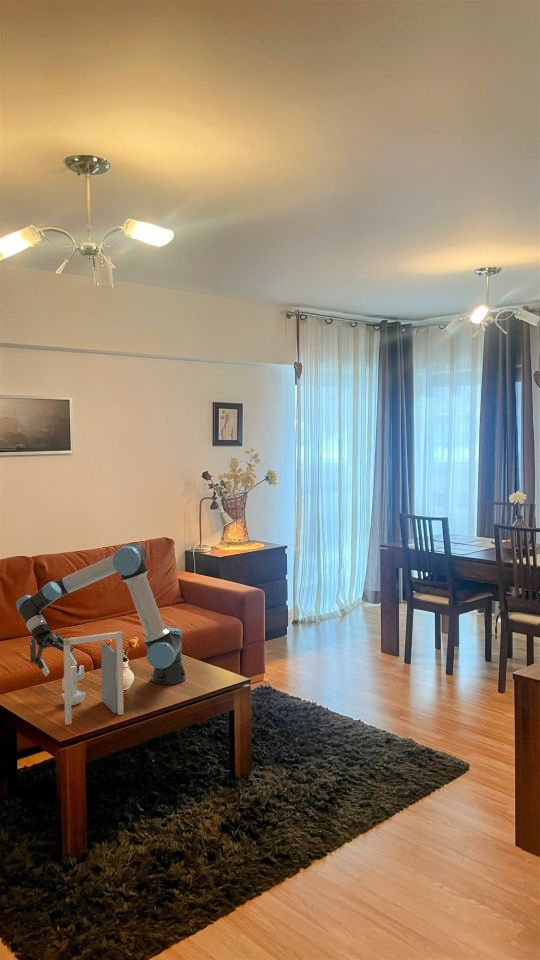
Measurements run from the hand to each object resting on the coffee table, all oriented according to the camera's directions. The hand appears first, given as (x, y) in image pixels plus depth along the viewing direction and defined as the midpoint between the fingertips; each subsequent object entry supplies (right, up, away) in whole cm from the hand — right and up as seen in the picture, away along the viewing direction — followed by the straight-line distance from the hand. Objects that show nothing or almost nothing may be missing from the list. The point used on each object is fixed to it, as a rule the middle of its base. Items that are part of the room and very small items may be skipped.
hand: (61, 670), depth 285 cm
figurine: (+6, -13, -3) cm, 14 cm away
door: (+22, -12, -8) cm, 27 cm away
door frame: (+19, -13, -20) cm, 30 cm away
